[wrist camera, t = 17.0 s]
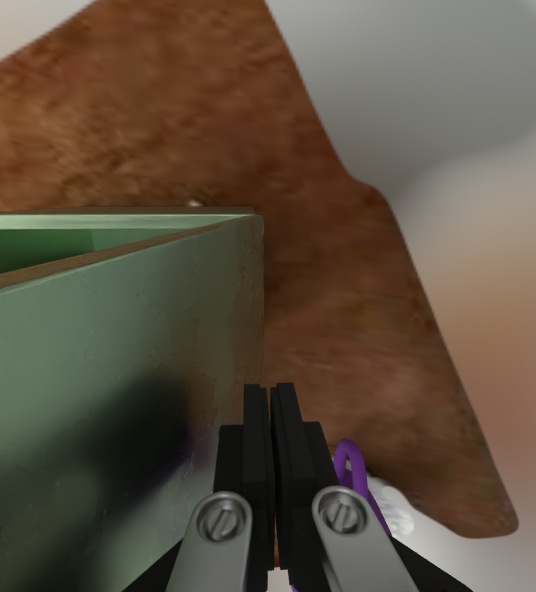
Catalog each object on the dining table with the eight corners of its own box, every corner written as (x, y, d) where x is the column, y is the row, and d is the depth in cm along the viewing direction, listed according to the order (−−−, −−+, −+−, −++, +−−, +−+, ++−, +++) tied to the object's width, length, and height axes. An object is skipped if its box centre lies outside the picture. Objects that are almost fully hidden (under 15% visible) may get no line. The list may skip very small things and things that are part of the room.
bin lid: (46, 989, 6) (86, 1009, 6) (-313, 344, 2) (-227, 354, 2) (252, 415, 21) (264, 416, 21) (249, 214, 18) (264, 214, 18)
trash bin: (102, 332, 34) (10, 420, 21) (82, 206, 30) (-44, 214, 17) (254, 329, 35) (257, 411, 22) (252, 206, 31) (256, 214, 18)
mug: (359, 529, 44) (390, 621, 34) (275, 526, 43) (283, 620, 33) (388, 418, 39) (434, 490, 30) (294, 412, 38) (310, 484, 29)
